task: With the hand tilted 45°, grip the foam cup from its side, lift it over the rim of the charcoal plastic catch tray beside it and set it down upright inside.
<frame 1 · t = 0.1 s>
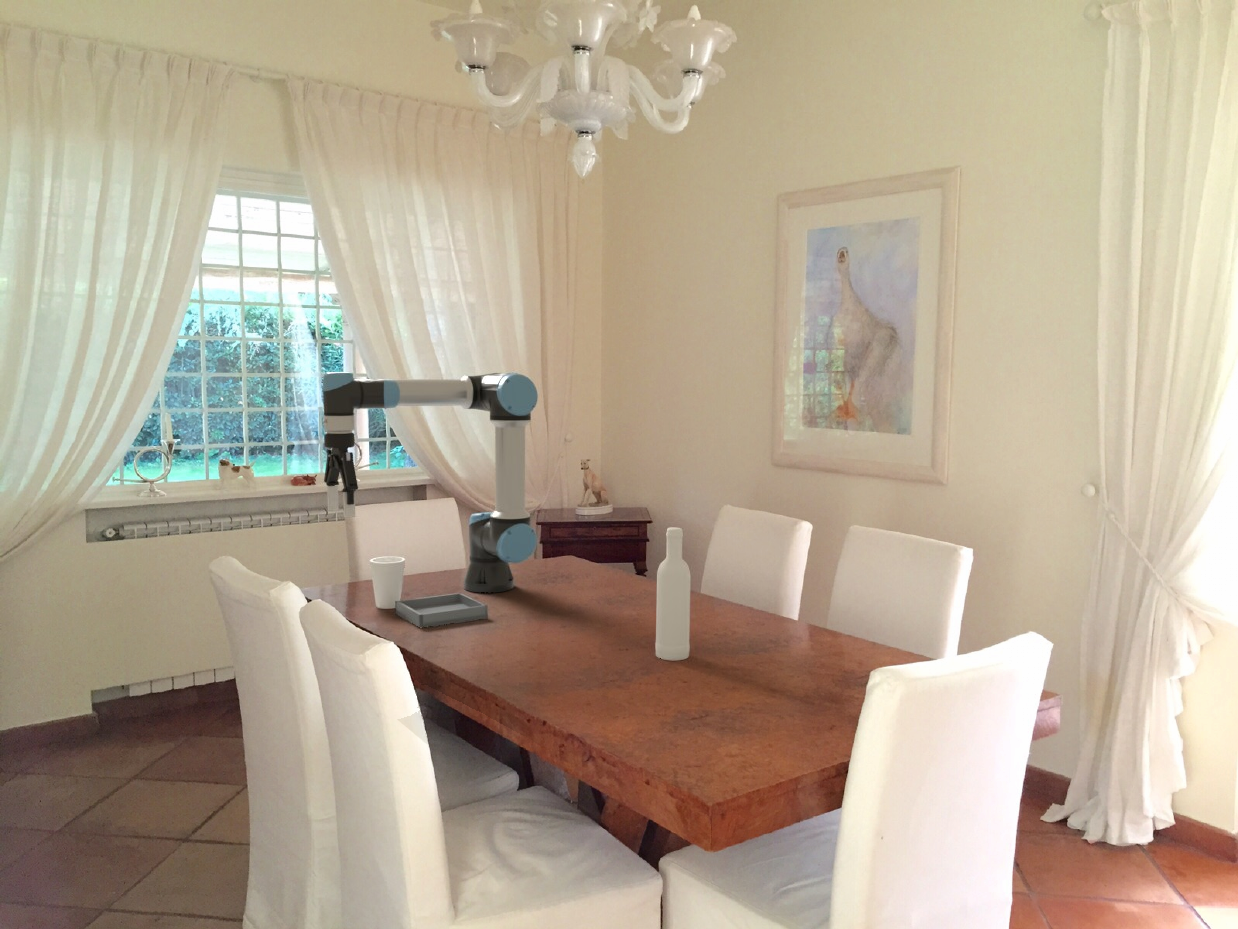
hand: (341, 513, 249), 28 cm above the table, tool pointing down, fingers open, 13 cm apart
bottle: (672, 656, 223), on the table
catch tray: (441, 616, 256), on the table
foam cup: (388, 606, 266), on the table
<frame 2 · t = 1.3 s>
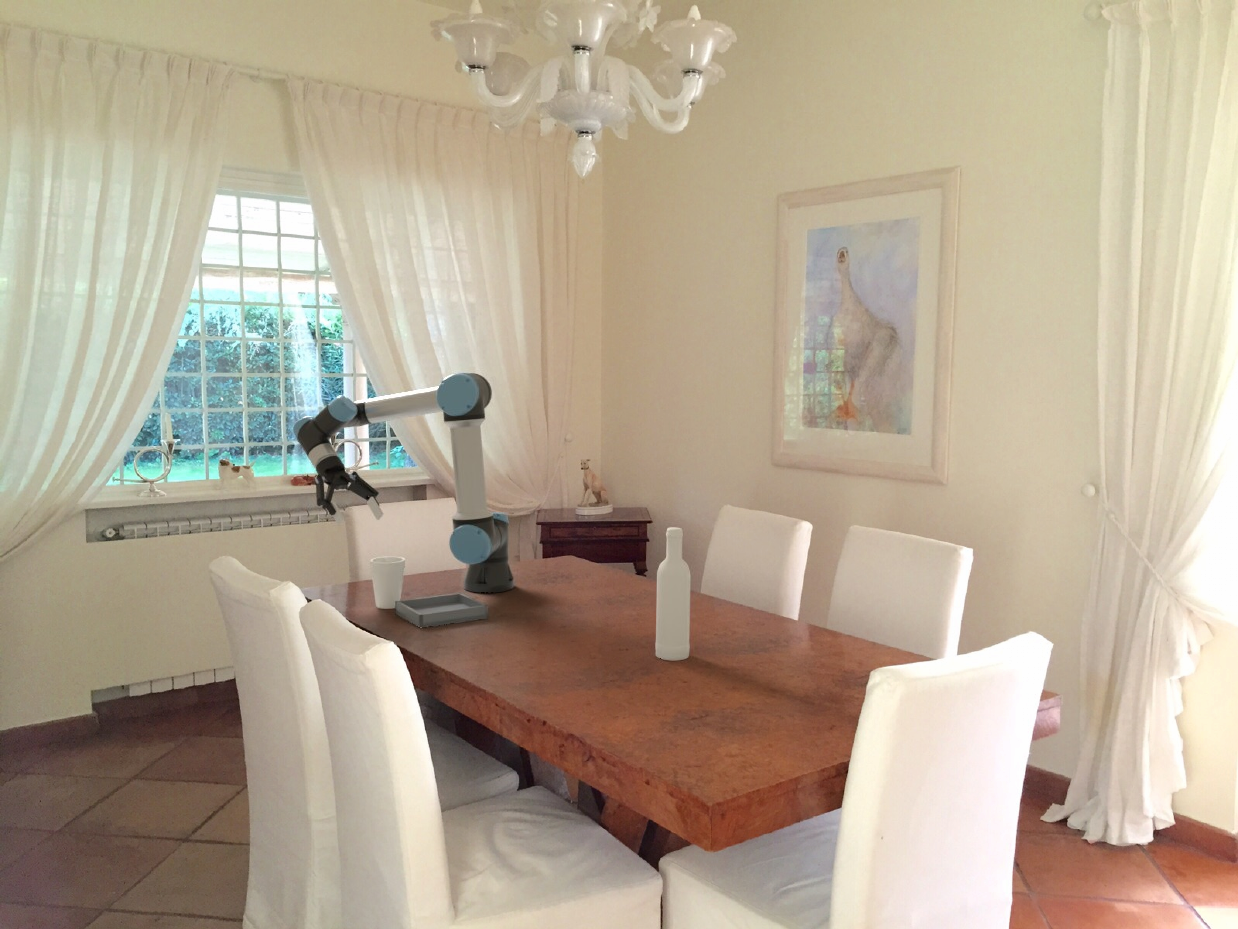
hand: (361, 519, 270), 23 cm above the table, tool tilted 45°, fingers open, 13 cm apart
nothing on the table moved.
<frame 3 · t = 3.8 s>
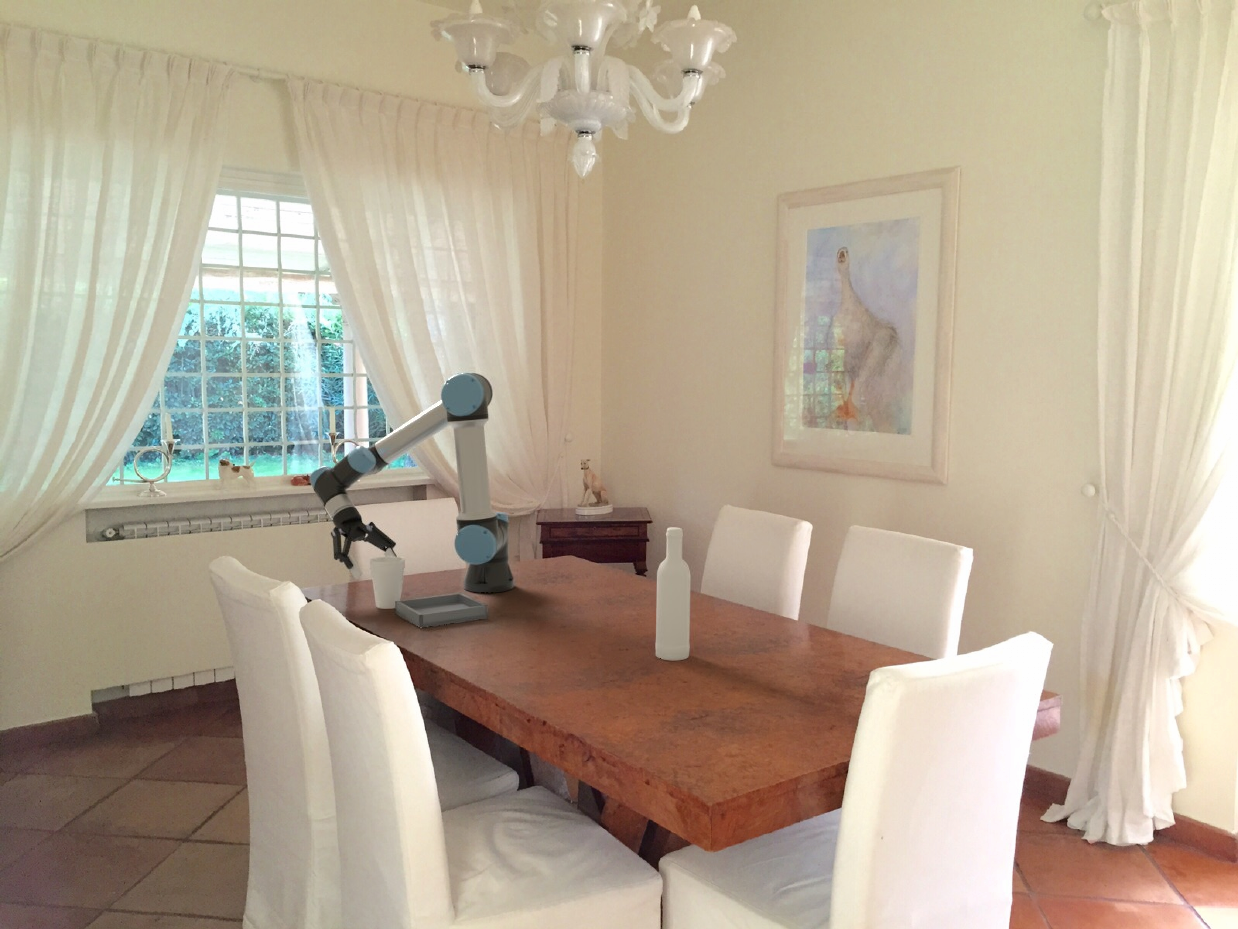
hand: (379, 572, 266), 9 cm above the table, tool tilted 45°, fingers open, 13 cm apart
nothing on the table moved.
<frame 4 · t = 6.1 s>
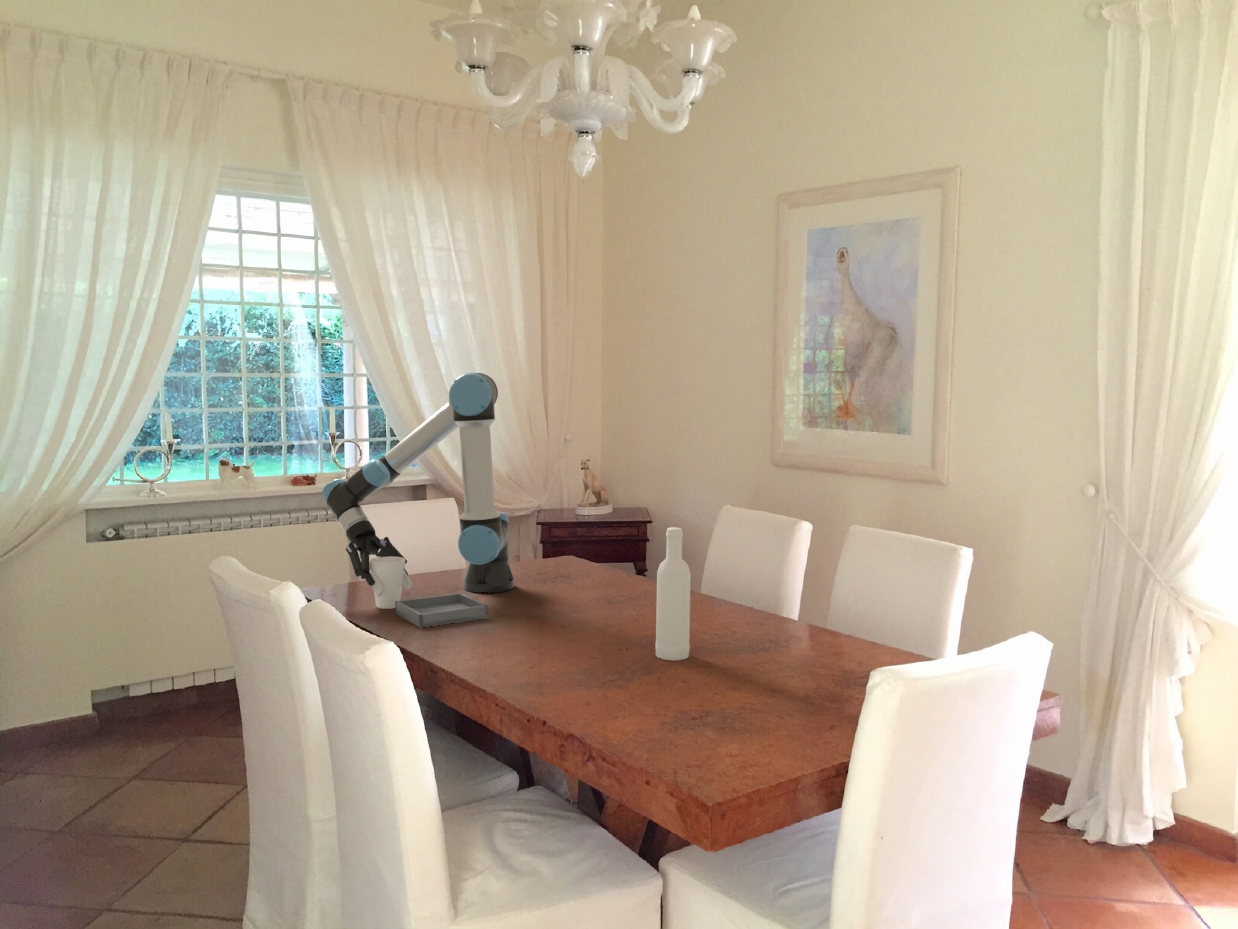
hand: (395, 590, 264), 5 cm above the table, tool tilted 45°, fingers closed on foam cup, 9 cm apart
foam cup: (388, 606, 266), on the table, touching gripper
everything else where it was.
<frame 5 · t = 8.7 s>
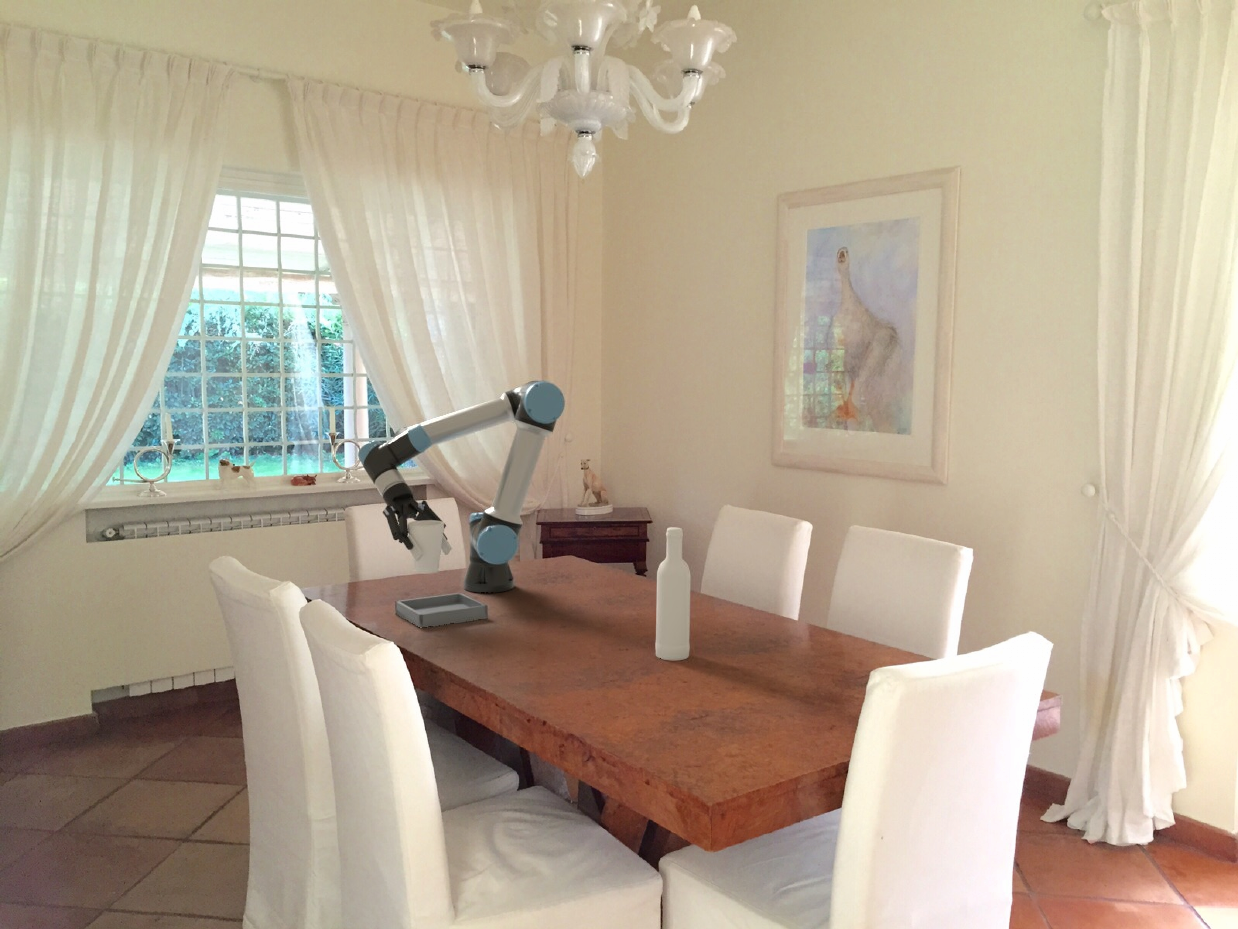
hand: (434, 554, 253), 17 cm above the table, tool tilted 45°, fingers closed on foam cup, 9 cm apart
foam cup: (426, 572, 256), point 12 cm above the table, touching gripper
everything else where it was.
when the fingers open (7 cm above the table, at t = 11.7 s): foam cup drops 1 cm, resting on catch tray.
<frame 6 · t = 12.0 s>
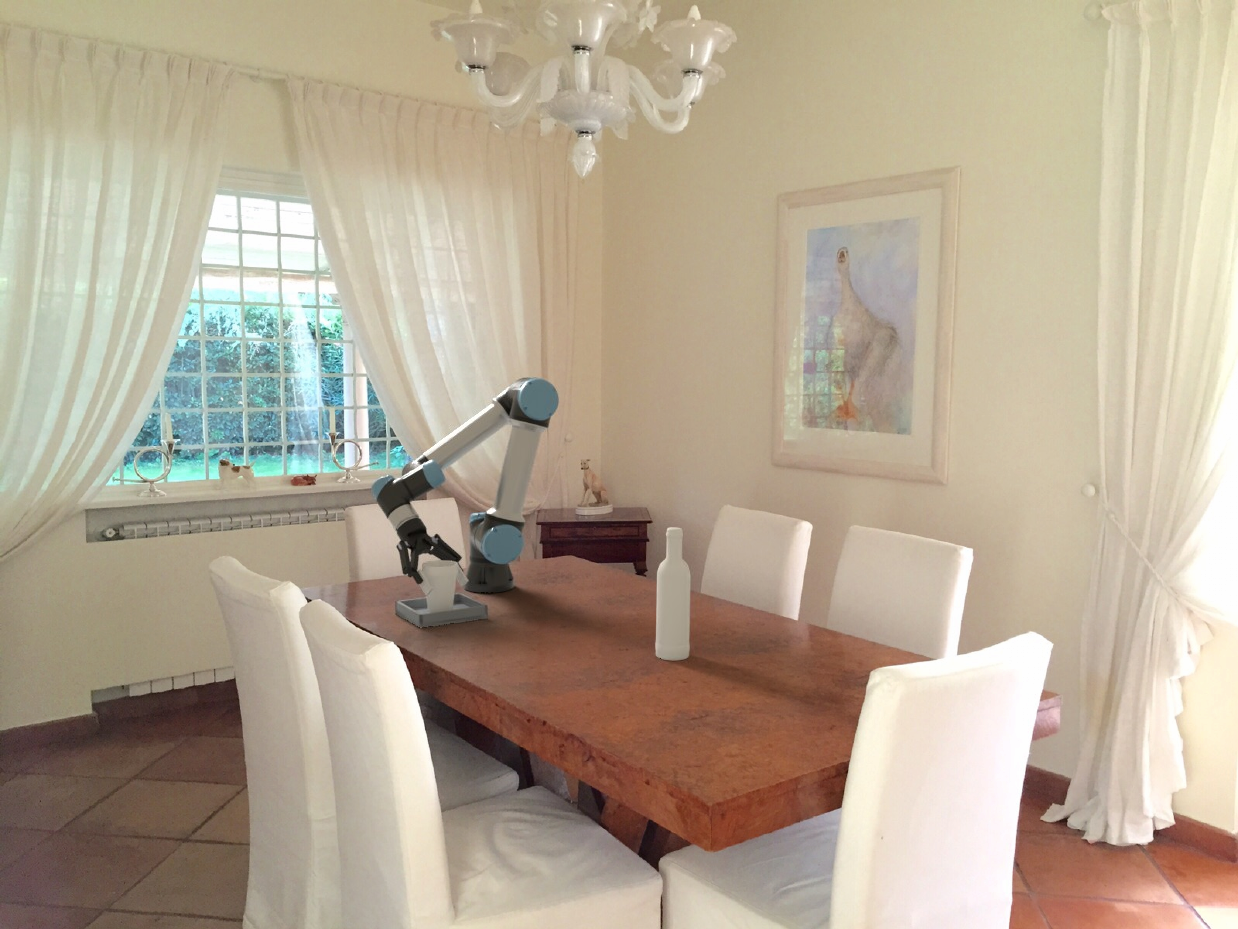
hand: (447, 588, 253), 8 cm above the table, tool tilted 45°, fingers open, 12 cm apart
foam cup: (440, 612, 255), point 1 cm above the table, touching catch tray
everything else where it was.
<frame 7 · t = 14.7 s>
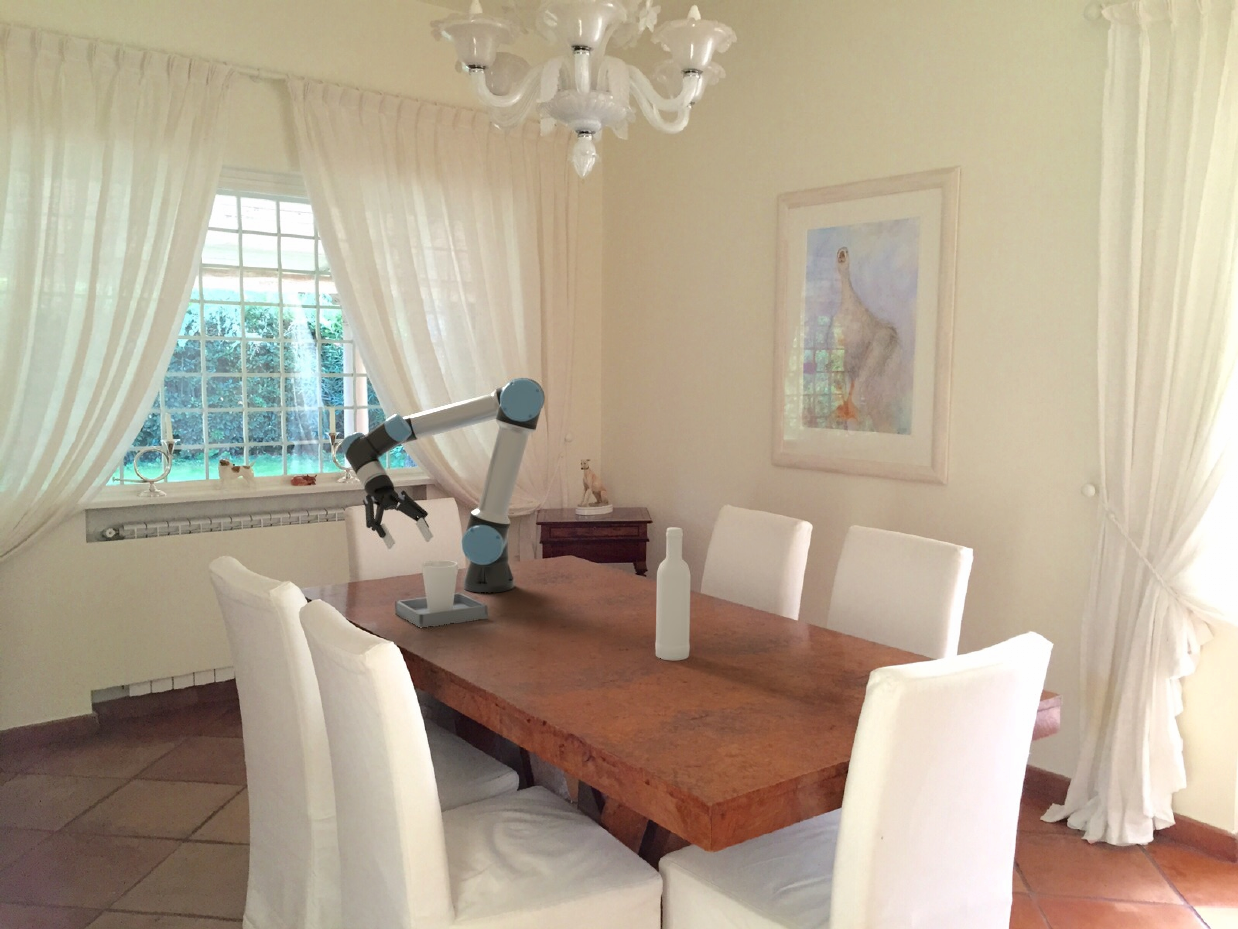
hand: (411, 542, 261), 18 cm above the table, tool tilted 45°, fingers open, 13 cm apart
nothing on the table moved.
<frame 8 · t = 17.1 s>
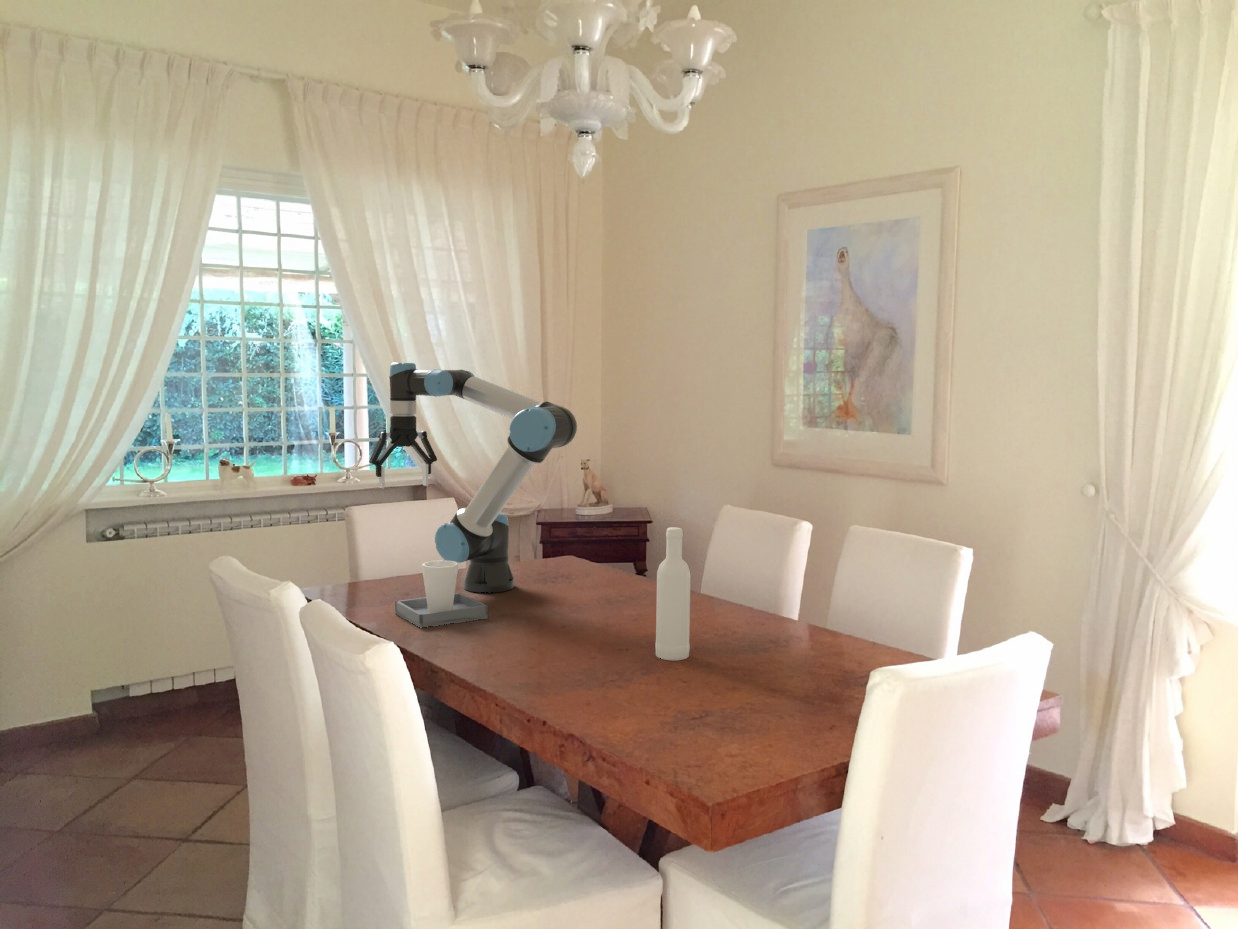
hand: (403, 486, 285), 31 cm above the table, tool pointing down, fingers open, 13 cm apart
nothing on the table moved.
at the end: foam cup inside the target area on the catch tray (0.2 cm from its centre), point 1.0 cm above the catch tray's base; foam cup tilted 0°; the gripper is holding nothing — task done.
